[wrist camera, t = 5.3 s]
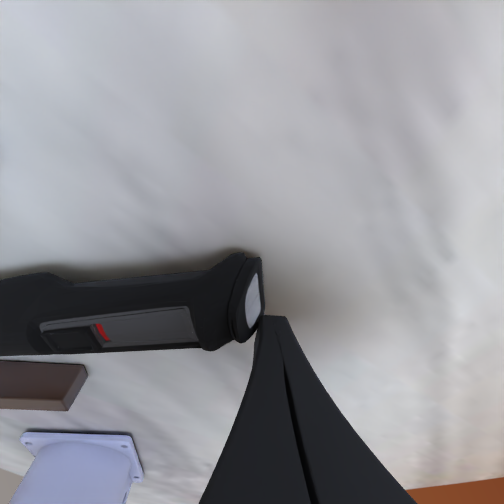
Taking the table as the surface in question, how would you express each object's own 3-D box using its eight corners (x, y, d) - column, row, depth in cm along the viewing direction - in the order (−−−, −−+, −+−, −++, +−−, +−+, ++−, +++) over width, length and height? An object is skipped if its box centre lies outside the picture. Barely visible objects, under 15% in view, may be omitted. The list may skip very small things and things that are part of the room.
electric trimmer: (-95, 268, 11) (-213, 326, 8) (260, 243, 10) (263, 297, 7) (-33, 326, 13) (-110, 388, 10) (265, 309, 12) (269, 370, 9)
